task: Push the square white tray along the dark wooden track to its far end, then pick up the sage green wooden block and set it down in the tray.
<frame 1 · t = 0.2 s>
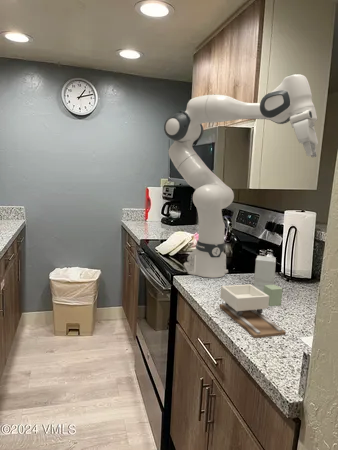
hand: (312, 156, 125), 52 cm above the worktop, tool tilted 20°, fingers open, 8 cm apart
track: (249, 319, 107), on the worktop
square white tray: (243, 299, 111), point 5 cm above the worktop, slide at 0.0 cm
block: (271, 303, 122), on the worktop
supplement box: (263, 290, 136), on the worktop
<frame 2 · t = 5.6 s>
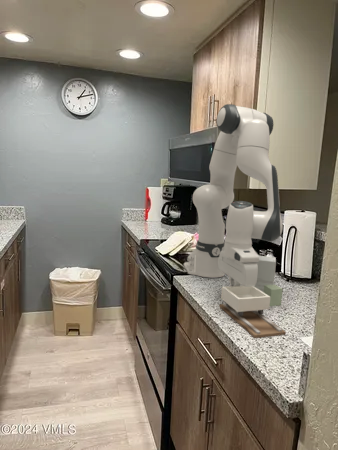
hand: (234, 290, 117), 5 cm above the worktop, tool pointing down, fingers closed
square white tray: (244, 300, 110), point 5 cm above the worktop, slide at 0.6 cm, touching gripper
everything else where it was.
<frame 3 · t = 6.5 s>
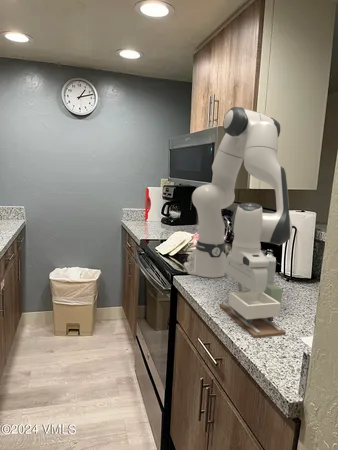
hand: (241, 296, 112), 5 cm above the worktop, tool pointing down, fingers closed
square white tray: (253, 307, 105), point 5 cm above the worktop, slide at 5.8 cm, touching gripper
everything else where it was.
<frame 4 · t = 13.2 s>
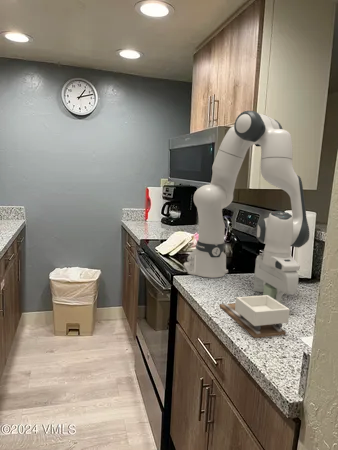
hand: (272, 297, 122), 2 cm above the worktop, tool pointing down, fingers closed on block, 4 cm apart
square white tray: (261, 312, 101), point 5 cm above the worktop, slide at 10.0 cm
block: (271, 303, 122), on the worktop, touching gripper
everything else where it was.
when the fingers open (9 cm above the worktop, at t = 19.2 s): block drops 2 cm, resting on square white tray.
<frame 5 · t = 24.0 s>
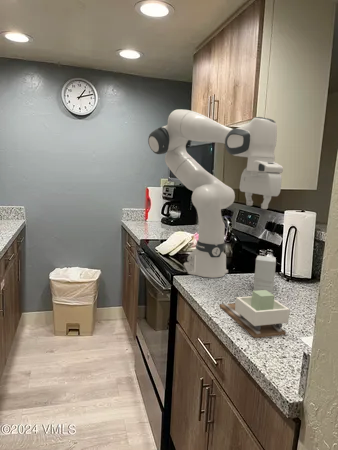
hand: (256, 207, 120), 33 cm above the worktop, tool pointing down, fingers open, 8 cm apart
square white tray: (261, 312, 101), point 5 cm above the worktop, slide at 10.0 cm, touching block
block: (261, 312, 102), point 5 cm above the worktop, touching square white tray
everything else where it was.
at the end: square white tray slide at 10.0 cm; block 0.2 cm from the target spot, point 4.6 cm above the worktop; the gripper is holding nothing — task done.
